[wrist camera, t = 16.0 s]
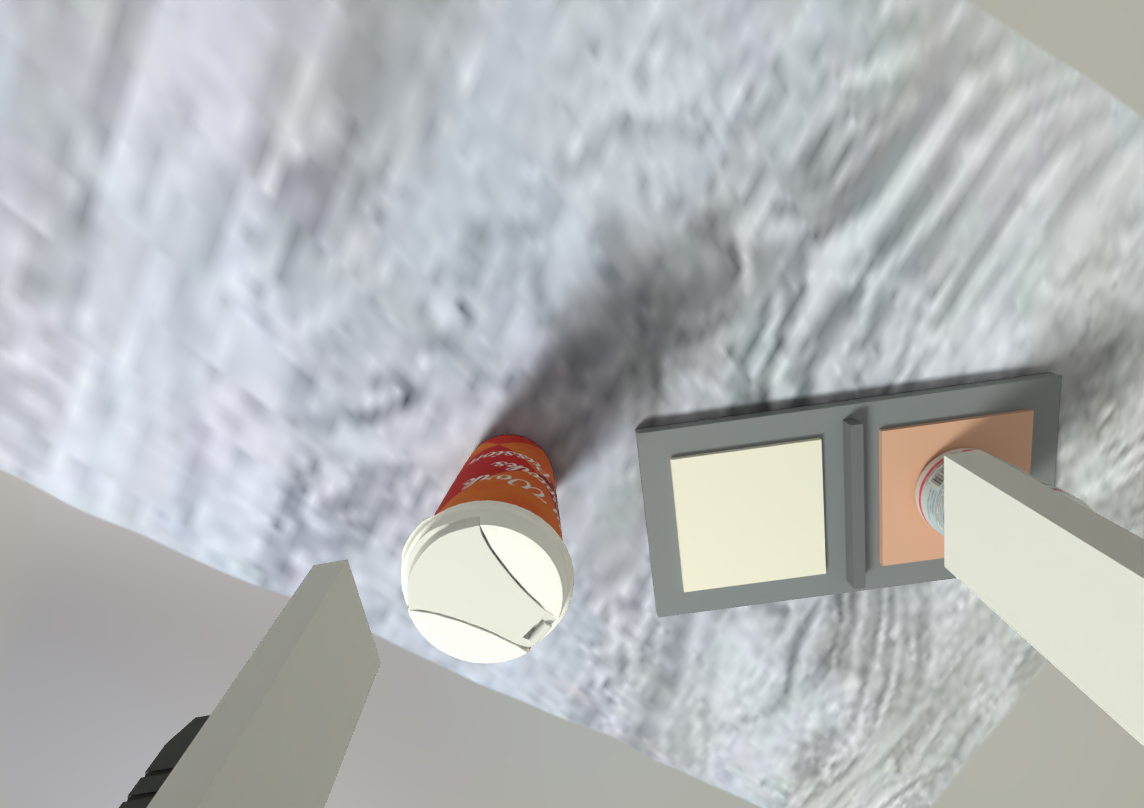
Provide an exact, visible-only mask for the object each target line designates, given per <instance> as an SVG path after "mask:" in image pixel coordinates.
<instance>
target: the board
mask: <svg viewBox="0 0 1144 808" xmlns="http://www.w3.org/2000/svg"><path fill="white" fill-rule="evenodd" d="M1061 380H1062V376H1061V375H1057V374H1054V373H1043V374H1036V375H1028V376H1021V377H1014V378H1007V379H999V380H992V381H985V382H977V383H970V384H963V385H955V386H948V387H941V388H933V389H926V390H919V391H912V392H904V393H897V394H890V395H882V396H875V397H868V398H860V399H853V400H846V401H838V402H831V403H824V404H817V405H809V406H802V407H795V408H787V409H780V410H773V411H765V412H758V413H751V414H744V415H736V416H729V417H722V418H714V419H707V420H700V421H692V422H685V423H678V424H670V425H663V426H656V427H649V428H641V429H635V431H636V439H637V448H638V457H639V465H640V474H641V482H642V491H643V500H644V508H645V517H646V526H647V534H648V543H649V551H650V560H651V569H652V577H653V586H654V595H655V603H656V610H657V614H658V617H664V616H672V615H679V614H687V613H695V612H702V611H710V610H717V609H725V608H733V607H740V606H748V605H755V604H763V603H770V602H778V601H786V600H793V599H801V598H808V597H816V596H824V595H831V594H839V593H846V592H854V591H861V590H869V589H877V588H884V587H892V586H899V585H907V584H915V583H922V582H930V581H937V580H945V579H952V578H956V577H955V576H954V575H953V574H952V573H951V572H950V571H949V570H948V569H946V568H945V567H944V536H943V535H941V534H940V533H939V532H937V531H936V530H935V529H934V528H932V527H931V526H930V525H929V524H928V523H927V522H926V521H925V520H924V519H923V518H922V516H921V514H920V512H919V510H918V507H917V505H916V499H915V490H916V484H917V481H918V478H919V476H920V475H921V473H922V471H923V470H924V469H925V467H926V466H927V465H928V464H929V463H930V462H931V461H933V460H934V459H935V458H937V457H938V456H940V455H941V454H943V453H945V452H948V451H951V450H955V449H960V448H973V449H980V450H982V451H984V452H986V453H989V454H991V455H993V456H995V457H997V458H999V459H1001V460H1003V461H1005V462H1007V463H1009V464H1011V465H1013V466H1015V467H1017V468H1019V469H1021V470H1023V471H1025V472H1027V473H1029V474H1031V475H1033V476H1035V477H1037V478H1039V479H1041V480H1043V481H1045V482H1047V483H1049V484H1051V485H1053V486H1054V479H1055V465H1056V451H1057V437H1058V422H1059V408H1060V394H1061Z"/></svg>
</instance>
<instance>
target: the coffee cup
mask: <svg viewBox="0 0 1144 808" xmlns="http://www.w3.org/2000/svg"><path fill="white" fill-rule="evenodd" d="M401 583H402V591H403V594H404V597H405V601H406V603H407V605H408V611H409V614H410V616H411V618H412V620H413V622H414V624H415V626H416V627H417V628H418V630H419V631H420V633H421V634H422V635H423V636H424V637H425V638H426V639H427V640H428V641H429V642H430V643H431V644H432V645H434V646H435V647H436V648H438V649H439V650H441V651H443V652H444V653H446V654H448V655H450V656H453V657H455V658H458V659H461V660H465V661H469V662H476V663H497V662H503V661H508V660H511V659H514V658H517V657H520V656H522V655H524V654H526V653H527V652H529V651H530V648H531V647H532V646H533V645H534V644H537V643H538V642H539V641H540V640H541V639H542V638H544V637H545V636H546V635H548V634H549V633H550V632H551V631H552V630H553V629H554V628H555V627H556V626H557V624H558V623H559V622H560V620H561V619H562V618H563V616H564V614H565V612H566V610H567V609H568V607H569V604H570V601H571V598H572V593H573V586H574V571H573V566H572V561H571V558H570V555H569V553H568V550H567V548H566V546H565V544H564V543H563V540H562V532H561V524H560V517H559V509H558V502H557V494H556V488H555V481H554V475H553V471H552V467H551V464H550V461H549V459H548V457H547V455H546V454H545V452H544V451H543V450H542V449H541V448H540V447H539V446H538V445H537V444H536V443H534V442H533V441H531V440H529V439H527V438H525V437H522V436H518V435H500V436H496V437H493V438H490V439H488V440H487V441H485V442H483V443H482V444H481V445H480V446H478V447H477V448H476V449H475V451H474V452H473V453H472V454H471V456H470V457H469V459H468V460H467V462H466V463H465V465H464V466H463V468H462V470H461V471H460V473H459V475H458V476H457V478H456V479H455V481H454V483H453V484H452V486H451V488H450V489H449V491H448V493H447V494H446V496H445V498H444V499H443V501H442V503H441V505H440V506H439V508H438V510H437V511H436V513H435V515H434V516H432V517H429V518H427V519H425V520H423V521H422V522H421V523H420V524H419V525H418V526H417V528H416V529H415V530H414V531H413V533H412V534H411V536H410V537H409V539H408V540H407V542H406V544H405V547H404V549H403V551H402V570H401Z"/></svg>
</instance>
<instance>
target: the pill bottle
mask: <svg viewBox="0 0 1144 808" xmlns="http://www.w3.org/2000/svg"><path fill="white" fill-rule="evenodd" d="M972 450H978V449H973V448H960V449H955V450H951V451H948V452H945V453H943V454H941V455H940V456H938V457H937V458H935V459H934V460H933V461H931V462H930V463H929V464H928V465H927V466H926V467H925V469H924V470H923V471H922V473H921V475H920V476H919V478H918V481H917V484H916V490H915V499H916V505H917V507H918V510H919V512H920V514H921V516H922V518H923V519H924V520H925V521H926V522H927V523H928V524H929V525H930V526H931V527H932V528H934V529H935V530H936V531H937V532H939V533H940V534H941V535H943V536H944V455H949V454H955V453H960V452H966V451H972ZM988 454H989V453H988ZM989 455H991V454H989ZM991 456H993V455H991ZM993 457H995V456H993ZM995 458H997V457H995ZM997 459H998V460H1000V461H1002V462H1004V463H1006V464H1008V465H1009V466H1011V467H1013V468H1015V469H1017V470H1018V471H1020V472H1022V473H1024V474H1026V475H1028V476H1029V477H1031V478H1033V479H1035V480H1037V481H1038V482H1040V483H1042V484H1044V485H1046V486H1048V487H1049V488H1051V489H1053V490H1055V491H1057V492H1058V493H1060V494H1062V495H1064V496H1066V497H1068V498H1069V499H1071V500H1073V501H1075V502H1077V503H1079V504H1080V505H1082V506H1084V507H1086V508H1088V509H1089V510H1091V511H1093V510H1092V509H1091V508H1090V507H1089V506H1088V505H1087V504H1086V503H1084V502H1083V501H1081V500H1080V499H1078V498H1076V497H1074V496H1073V495H1071V494H1069V493H1067V492H1065V491H1063V490H1061V489H1059V488H1057V487H1055V486H1053V485H1051V484H1049V483H1047V482H1045V481H1043V480H1041V479H1039V478H1037V477H1035V476H1033V475H1031V474H1029V473H1027V472H1025V471H1023V470H1021V469H1019V468H1017V467H1015V466H1013V465H1011V464H1009V463H1007V462H1005V461H1003V460H1001V459H999V458H997ZM1093 512H1094V511H1093Z"/></svg>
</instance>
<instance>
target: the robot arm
mask: <svg viewBox="0 0 1144 808" xmlns="http://www.w3.org/2000/svg"><path fill="white" fill-rule="evenodd" d="M944 567H945V568H946V569H948V570H949V571H950V572H951V573H952V574H953V575H954V576H955V577H956V578H958V579H959V580H960V581H961V582H962V583H963V584H964V585H965V586H966V587H968V588H969V589H970V590H971V591H972V592H973V593H974V594H975V595H976V596H978V597H979V598H980V599H981V600H982V601H983V602H984V603H985V604H986V605H988V606H989V607H990V608H991V609H992V610H993V611H994V612H995V613H996V614H998V615H999V616H1000V617H1001V618H1002V619H1003V620H1004V621H1005V622H1006V623H1008V624H1009V625H1010V626H1011V627H1012V628H1013V629H1014V630H1015V631H1016V632H1017V633H1019V634H1020V635H1021V636H1022V637H1023V638H1024V639H1025V640H1026V641H1027V642H1029V643H1030V644H1031V645H1032V646H1033V647H1034V648H1035V649H1036V650H1037V651H1039V652H1040V653H1041V654H1042V655H1043V656H1044V657H1045V658H1046V659H1047V660H1049V661H1050V662H1051V663H1052V664H1053V665H1054V666H1056V668H1057V669H1059V670H1060V671H1061V672H1062V673H1063V674H1064V675H1065V676H1066V677H1067V678H1069V679H1070V680H1071V681H1072V682H1073V683H1074V684H1076V686H1077V687H1079V688H1080V689H1081V690H1082V691H1083V692H1084V693H1085V694H1086V695H1087V696H1089V697H1090V698H1091V699H1092V700H1093V701H1094V702H1095V703H1097V705H1099V706H1100V707H1101V708H1102V709H1103V710H1104V711H1105V712H1106V713H1107V714H1109V715H1110V716H1111V717H1112V718H1113V719H1114V720H1115V721H1116V722H1117V723H1118V724H1120V725H1121V726H1122V727H1123V728H1124V729H1125V730H1126V731H1127V732H1129V733H1130V734H1131V735H1132V736H1133V737H1134V738H1135V739H1136V740H1137V741H1138V742H1140V743H1141V744H1142V745H1143V746H1144V539H1142V538H1140V537H1139V536H1137V535H1135V534H1133V533H1131V532H1129V531H1128V530H1126V529H1124V528H1122V527H1120V526H1119V525H1117V524H1115V523H1113V522H1111V521H1109V520H1108V519H1106V518H1104V517H1102V516H1100V515H1099V514H1097V513H1095V512H1093V511H1091V510H1089V509H1088V508H1086V507H1084V506H1082V505H1080V504H1079V503H1077V502H1075V501H1073V500H1071V499H1069V498H1068V497H1066V496H1064V495H1062V494H1060V493H1058V492H1057V491H1055V490H1053V489H1051V488H1049V487H1048V486H1046V485H1044V484H1042V483H1040V482H1038V481H1037V480H1035V479H1033V478H1031V477H1029V476H1028V475H1026V474H1024V473H1022V472H1020V471H1018V470H1017V469H1015V468H1013V467H1011V466H1009V465H1008V464H1006V463H1004V462H1002V461H1000V460H998V459H997V458H995V457H993V456H991V455H989V454H988V453H986V452H984V451H982V450H980V449H978V450H972V451H966V452H960V453H955V454H949V455H944ZM380 663H381V662H380V659H379V656H378V653H377V649H376V647H375V643H374V640H373V637H372V634H371V631H370V628H369V625H368V621H367V618H366V615H365V612H364V609H363V606H362V603H361V600H360V597H359V594H358V590H357V587H356V584H355V581H354V578H353V575H352V572H351V569H350V566H349V563H348V560H342V561H336V562H331V563H325V564H319V565H314V566H313V567H312V569H311V570H310V571H309V573H308V574H307V576H306V577H305V579H304V580H303V582H302V583H301V584H300V586H299V587H298V589H297V590H296V592H295V593H294V595H293V596H292V598H291V599H290V600H289V602H288V603H287V605H286V606H285V608H284V609H283V611H282V612H281V613H280V615H279V617H278V618H277V619H276V621H275V622H274V624H273V625H272V627H271V628H270V629H269V631H268V632H267V634H266V635H265V637H264V638H263V640H262V641H261V642H260V644H259V645H258V647H257V648H256V650H255V651H254V653H253V654H252V656H251V657H250V658H249V660H248V662H247V663H246V664H245V666H244V667H243V669H242V670H241V671H240V673H239V674H238V676H237V677H236V679H235V680H234V682H233V683H232V685H231V686H230V688H229V689H228V690H227V692H226V693H225V695H224V696H223V698H222V699H221V700H220V702H219V703H218V705H217V706H216V708H215V709H214V711H213V712H212V714H211V715H209V716H203V717H198V718H195V719H194V720H192V721H191V722H190V723H189V724H188V725H187V726H186V727H184V728H183V729H182V730H181V731H180V732H179V733H178V734H177V735H175V736H174V737H173V738H172V739H171V740H170V741H169V742H168V743H167V744H166V745H165V746H164V748H163V749H162V750H161V751H160V753H159V754H158V756H157V757H156V758H155V760H154V761H153V762H152V764H151V765H150V767H149V768H148V769H147V771H146V772H145V773H146V775H145V777H143V778H141V779H140V780H139V781H138V783H137V784H136V785H135V787H134V788H133V790H132V791H131V792H130V794H129V795H128V800H127V802H123V803H122V804H121V806H120V807H119V808H324V806H325V804H326V802H327V799H328V796H329V794H330V791H331V789H332V786H333V784H334V781H335V779H336V776H337V773H338V771H339V768H340V766H341V763H342V761H343V758H344V755H345V753H346V750H347V748H348V745H349V742H350V740H351V737H352V735H353V732H354V730H355V727H356V724H357V722H358V720H359V717H360V714H361V711H362V709H363V707H364V704H365V702H366V699H367V696H368V694H369V691H370V689H371V686H372V683H373V681H374V678H375V676H376V673H377V671H378V668H379V666H380Z"/></svg>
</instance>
